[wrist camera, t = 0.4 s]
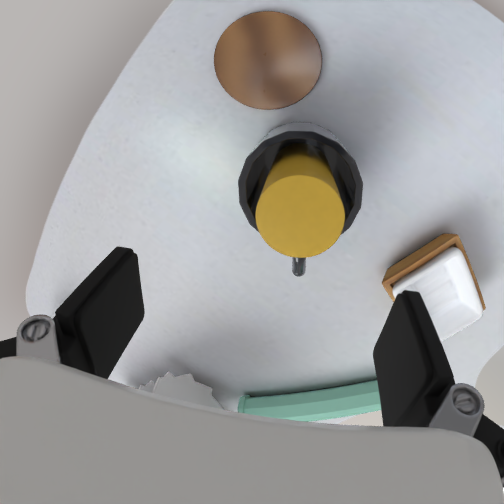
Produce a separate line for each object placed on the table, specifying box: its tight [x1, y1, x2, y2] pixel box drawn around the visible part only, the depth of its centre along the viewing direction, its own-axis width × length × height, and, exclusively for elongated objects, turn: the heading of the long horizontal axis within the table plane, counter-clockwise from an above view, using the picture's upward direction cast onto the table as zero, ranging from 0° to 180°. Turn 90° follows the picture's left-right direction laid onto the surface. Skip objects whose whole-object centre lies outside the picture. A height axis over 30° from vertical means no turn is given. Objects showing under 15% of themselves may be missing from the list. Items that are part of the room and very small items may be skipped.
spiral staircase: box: [139, 371, 225, 410], centre depth 45 cm, size 18×18×25 cm
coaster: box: [214, 11, 322, 110], centre depth 25 cm, size 10×10×1 cm
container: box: [238, 380, 381, 422], centre depth 44 cm, size 6×6×25 cm
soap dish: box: [382, 234, 486, 342], centre depth 32 cm, size 12×10×5 cm
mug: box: [238, 122, 363, 277], centre depth 28 cm, size 13×10×8 cm
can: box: [256, 143, 345, 258], centre depth 25 cm, size 6×6×12 cm
